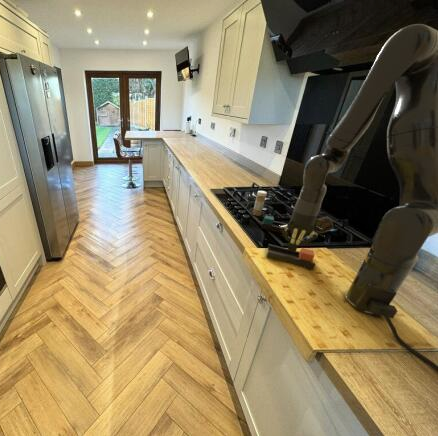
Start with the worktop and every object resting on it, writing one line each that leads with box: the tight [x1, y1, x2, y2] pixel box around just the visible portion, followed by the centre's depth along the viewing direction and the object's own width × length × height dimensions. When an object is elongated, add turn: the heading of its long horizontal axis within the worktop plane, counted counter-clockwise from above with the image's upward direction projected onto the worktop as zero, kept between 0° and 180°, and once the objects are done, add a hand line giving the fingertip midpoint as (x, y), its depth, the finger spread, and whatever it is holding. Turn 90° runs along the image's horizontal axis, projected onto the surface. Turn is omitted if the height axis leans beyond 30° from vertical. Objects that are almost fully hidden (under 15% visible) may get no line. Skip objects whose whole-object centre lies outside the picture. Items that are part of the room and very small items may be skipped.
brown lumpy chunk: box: [313, 216, 335, 234], centre depth 115 cm, size 7×13×10 cm
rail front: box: [265, 243, 316, 271], centre depth 93 cm, size 7×16×3 cm, turn 62°
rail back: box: [260, 218, 297, 238], centre depth 115 cm, size 7×16×3 cm, turn 62°
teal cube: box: [262, 215, 275, 225], centre depth 117 cm, size 4×4×4 cm
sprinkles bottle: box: [252, 190, 268, 217], centre depth 129 cm, size 5×5×13 cm
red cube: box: [299, 247, 315, 262], centre depth 90 cm, size 4×4×4 cm
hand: (291, 250), depth 92 cm, fingers closed
